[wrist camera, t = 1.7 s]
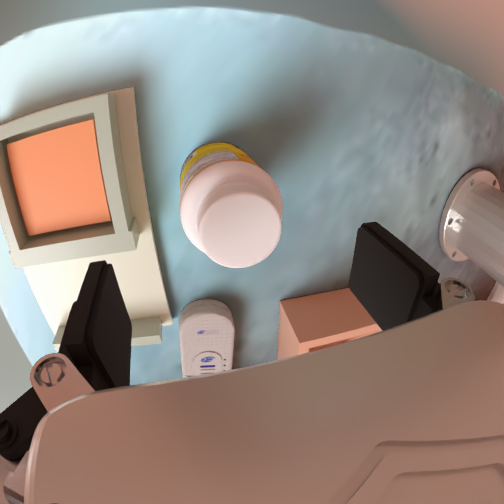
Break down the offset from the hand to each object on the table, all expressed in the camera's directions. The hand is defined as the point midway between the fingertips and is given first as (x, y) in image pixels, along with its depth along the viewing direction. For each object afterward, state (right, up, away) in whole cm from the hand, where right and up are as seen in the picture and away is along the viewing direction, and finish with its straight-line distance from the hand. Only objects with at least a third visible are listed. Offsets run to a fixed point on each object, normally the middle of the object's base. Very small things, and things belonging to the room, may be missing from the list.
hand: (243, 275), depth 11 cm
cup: (+8, -8, +23) cm, 25 cm away
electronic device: (-5, -10, +21) cm, 24 cm away
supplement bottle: (-2, +7, +12) cm, 14 cm away
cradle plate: (-14, +6, +8) cm, 17 cm away
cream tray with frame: (-14, +2, +11) cm, 18 cm away
